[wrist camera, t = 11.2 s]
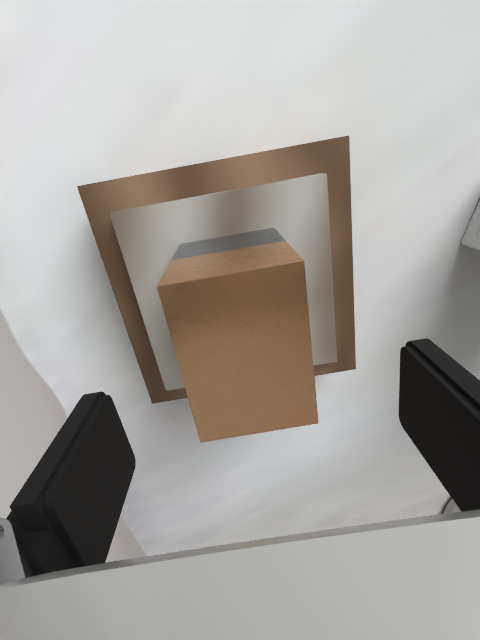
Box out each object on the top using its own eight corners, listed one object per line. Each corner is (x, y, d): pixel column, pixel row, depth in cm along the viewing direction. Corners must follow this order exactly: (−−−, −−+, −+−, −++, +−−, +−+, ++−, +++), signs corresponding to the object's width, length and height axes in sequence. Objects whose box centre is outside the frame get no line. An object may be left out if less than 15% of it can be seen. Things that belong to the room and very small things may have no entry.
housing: (274, 227, 18) (304, 260, 11) (288, 343, 20) (318, 423, 14) (179, 243, 18) (156, 286, 11) (207, 357, 21) (200, 442, 14)
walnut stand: (321, 142, 21) (356, 133, 16) (333, 335, 27) (361, 377, 22) (107, 182, 22) (69, 187, 16) (163, 364, 27) (149, 413, 22)
